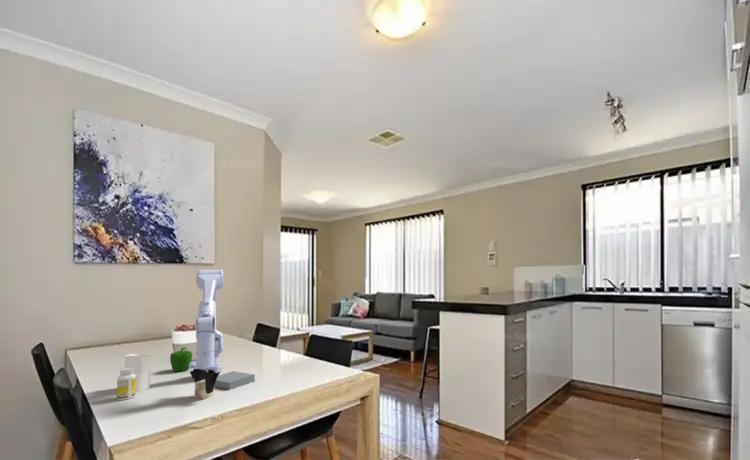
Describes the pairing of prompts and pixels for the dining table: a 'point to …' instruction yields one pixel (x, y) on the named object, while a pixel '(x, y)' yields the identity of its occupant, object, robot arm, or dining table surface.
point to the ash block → (202, 390)
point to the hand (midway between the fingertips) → (204, 391)
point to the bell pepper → (181, 360)
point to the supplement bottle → (126, 384)
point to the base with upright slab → (139, 370)
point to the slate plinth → (233, 380)
